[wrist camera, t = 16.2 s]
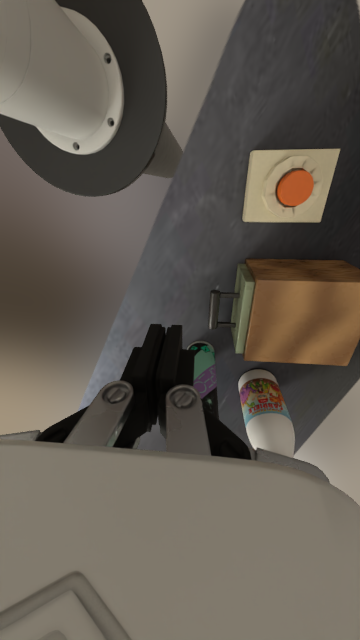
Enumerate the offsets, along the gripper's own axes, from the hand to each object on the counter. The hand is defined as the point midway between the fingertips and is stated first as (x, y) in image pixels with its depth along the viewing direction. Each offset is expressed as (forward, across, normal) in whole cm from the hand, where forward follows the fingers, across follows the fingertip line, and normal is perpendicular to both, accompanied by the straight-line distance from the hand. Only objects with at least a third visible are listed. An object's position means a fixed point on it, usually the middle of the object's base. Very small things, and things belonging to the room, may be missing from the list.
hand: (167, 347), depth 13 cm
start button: (+24, -12, -7) cm, 28 cm away
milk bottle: (+27, -14, +28) cm, 42 cm away
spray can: (+27, -2, +21) cm, 35 cm away
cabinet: (+27, -16, +9) cm, 33 cm away
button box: (+27, -12, -7) cm, 31 cm away
